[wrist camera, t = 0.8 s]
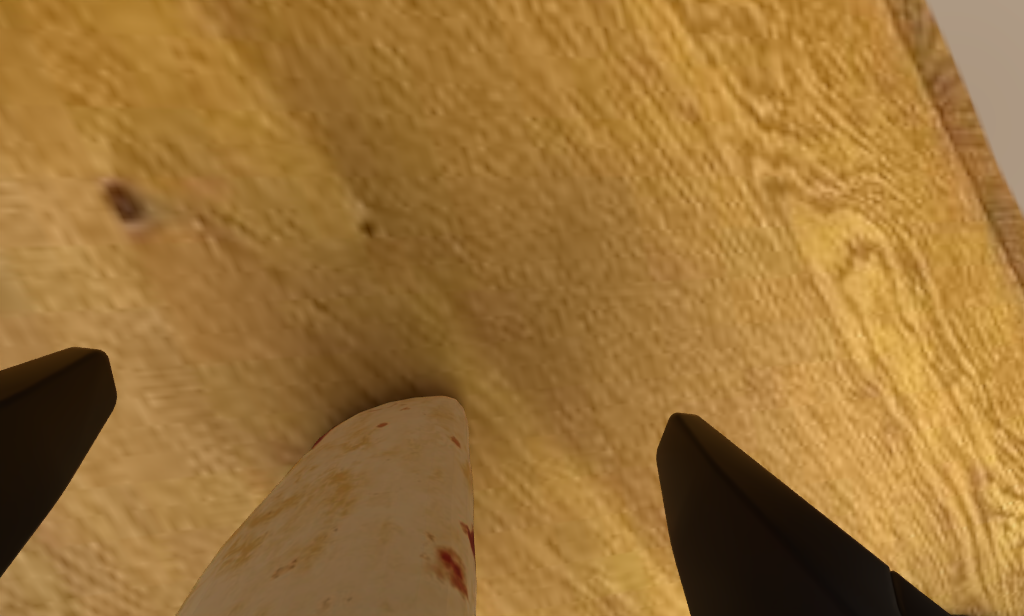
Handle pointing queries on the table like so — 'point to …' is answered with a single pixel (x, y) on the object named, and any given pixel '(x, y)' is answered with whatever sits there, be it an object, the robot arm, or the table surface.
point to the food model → (359, 525)
